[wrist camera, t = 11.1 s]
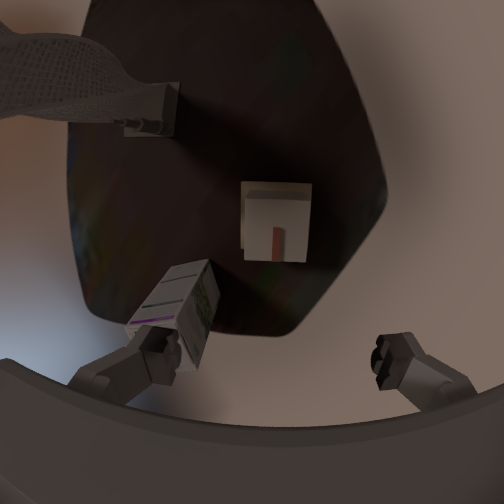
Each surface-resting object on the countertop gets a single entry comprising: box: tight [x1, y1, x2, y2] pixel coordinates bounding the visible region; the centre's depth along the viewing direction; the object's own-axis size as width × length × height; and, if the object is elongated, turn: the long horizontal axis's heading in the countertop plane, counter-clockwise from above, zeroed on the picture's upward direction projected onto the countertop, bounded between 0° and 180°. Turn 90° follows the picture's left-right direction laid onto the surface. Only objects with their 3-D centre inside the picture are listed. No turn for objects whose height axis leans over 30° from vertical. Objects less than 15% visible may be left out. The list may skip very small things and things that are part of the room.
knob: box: [244, 190, 311, 262], centre depth 28 cm, size 6×6×7 cm
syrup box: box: [125, 259, 221, 373], centre depth 29 cm, size 6×6×14 cm
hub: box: [241, 181, 312, 250], centre depth 29 cm, size 8×8×5 cm
